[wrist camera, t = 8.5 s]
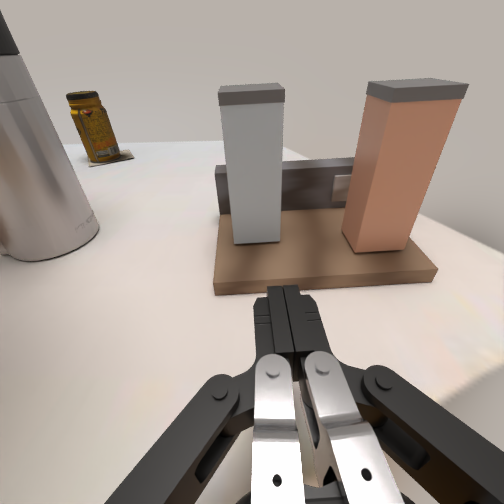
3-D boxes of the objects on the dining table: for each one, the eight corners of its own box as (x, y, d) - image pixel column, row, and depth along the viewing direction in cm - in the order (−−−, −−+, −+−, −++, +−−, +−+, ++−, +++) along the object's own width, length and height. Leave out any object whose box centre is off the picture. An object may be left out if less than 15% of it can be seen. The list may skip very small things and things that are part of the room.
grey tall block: (233, 244, 26) (217, 92, 18) (233, 222, 29) (220, 86, 21) (280, 241, 26) (284, 88, 18) (275, 220, 29) (277, 82, 21)
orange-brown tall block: (354, 252, 24) (394, 88, 16) (340, 228, 27) (368, 81, 20) (404, 249, 24) (468, 84, 16) (384, 226, 27) (430, 78, 20)
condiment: (87, 157, 56) (60, 92, 49) (129, 150, 60) (109, 87, 52) (89, 167, 51) (59, 96, 44) (134, 159, 54) (113, 91, 47)
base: (215, 295, 23) (203, 233, 19) (222, 215, 34) (216, 165, 30) (431, 281, 23) (465, 217, 19) (368, 206, 34) (381, 155, 30)
